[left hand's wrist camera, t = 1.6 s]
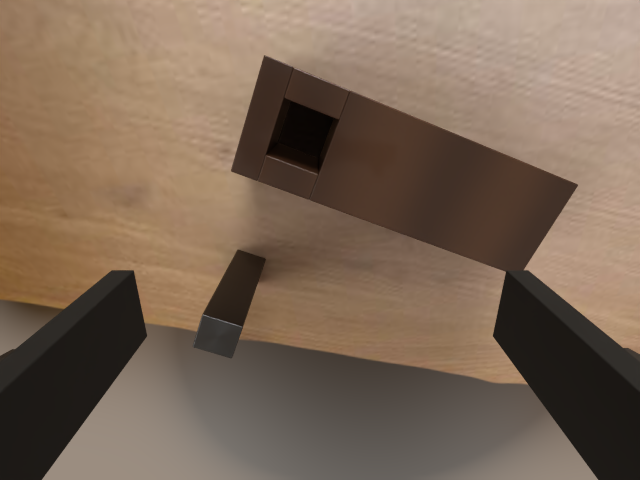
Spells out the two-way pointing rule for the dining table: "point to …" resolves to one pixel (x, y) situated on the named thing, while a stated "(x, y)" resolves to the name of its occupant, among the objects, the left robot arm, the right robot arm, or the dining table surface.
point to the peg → (229, 306)
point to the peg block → (400, 171)
